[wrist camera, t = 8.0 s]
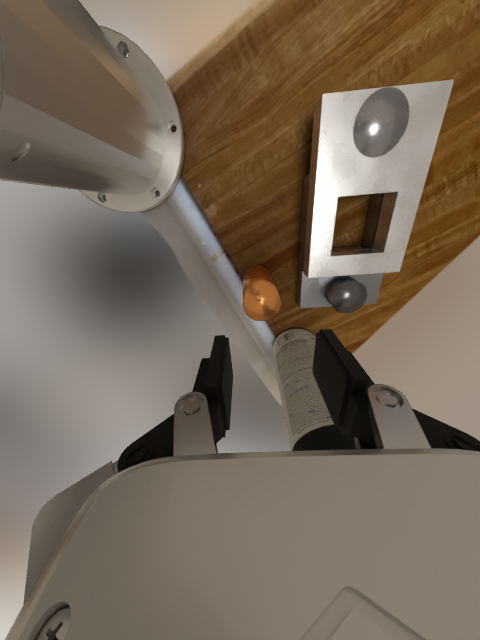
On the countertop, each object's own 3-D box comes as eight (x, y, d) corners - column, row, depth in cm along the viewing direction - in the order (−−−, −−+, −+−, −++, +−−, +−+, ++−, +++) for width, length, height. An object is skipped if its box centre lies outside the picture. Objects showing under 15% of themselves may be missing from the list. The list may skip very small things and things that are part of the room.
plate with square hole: (307, 116, 18) (322, 94, 15) (412, 105, 18) (454, 79, 14) (298, 268, 25) (308, 277, 21) (376, 262, 24) (399, 271, 21)
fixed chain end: (303, 177, 21) (316, 169, 17) (396, 168, 20) (432, 159, 16) (296, 301, 27) (305, 317, 23) (367, 297, 27) (388, 312, 23)
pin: (244, 292, 27) (244, 322, 19) (242, 265, 25) (241, 287, 18) (270, 290, 26) (280, 320, 19) (270, 263, 25) (281, 285, 18)
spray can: (267, 362, 32) (298, 553, 14) (275, 323, 29) (325, 507, 11) (310, 365, 32) (393, 558, 14) (322, 327, 29) (448, 514, 11)
